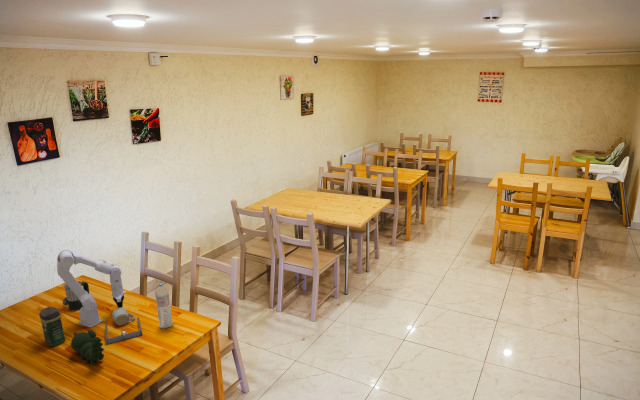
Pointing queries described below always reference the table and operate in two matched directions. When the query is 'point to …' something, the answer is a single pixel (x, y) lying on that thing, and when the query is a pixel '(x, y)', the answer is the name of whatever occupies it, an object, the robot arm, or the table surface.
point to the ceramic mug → (121, 316)
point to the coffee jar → (52, 326)
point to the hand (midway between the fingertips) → (120, 307)
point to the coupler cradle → (123, 334)
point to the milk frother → (74, 297)
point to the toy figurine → (88, 346)
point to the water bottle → (163, 307)
